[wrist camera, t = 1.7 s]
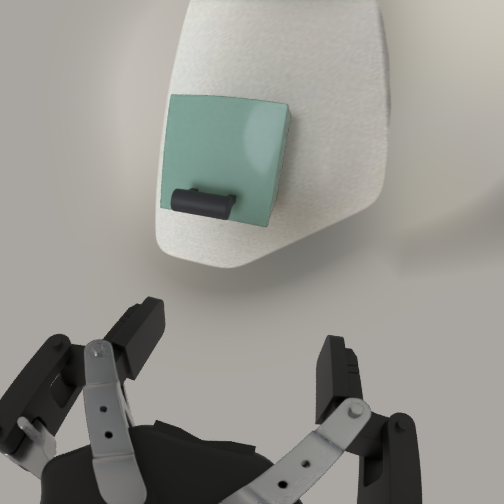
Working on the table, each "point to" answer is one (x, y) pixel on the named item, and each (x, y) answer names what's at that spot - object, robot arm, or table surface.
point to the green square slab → (222, 157)
